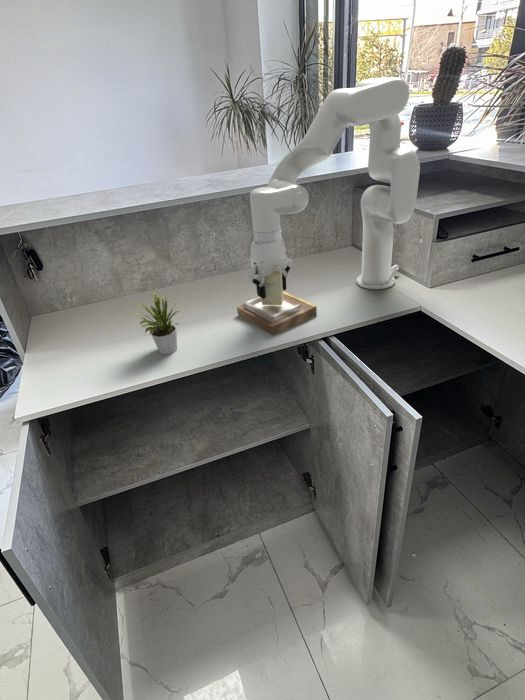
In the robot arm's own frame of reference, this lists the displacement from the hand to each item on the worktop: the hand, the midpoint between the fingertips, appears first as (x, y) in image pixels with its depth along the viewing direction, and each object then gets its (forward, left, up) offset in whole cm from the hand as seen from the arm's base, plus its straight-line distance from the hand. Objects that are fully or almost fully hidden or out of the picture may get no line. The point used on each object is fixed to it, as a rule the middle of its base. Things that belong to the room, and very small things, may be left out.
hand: (272, 292), depth 131 cm
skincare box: (0, 0, -3) cm, 3 cm away
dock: (-1, 0, -8) cm, 8 cm away
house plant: (+34, -8, -8) cm, 36 cm away
